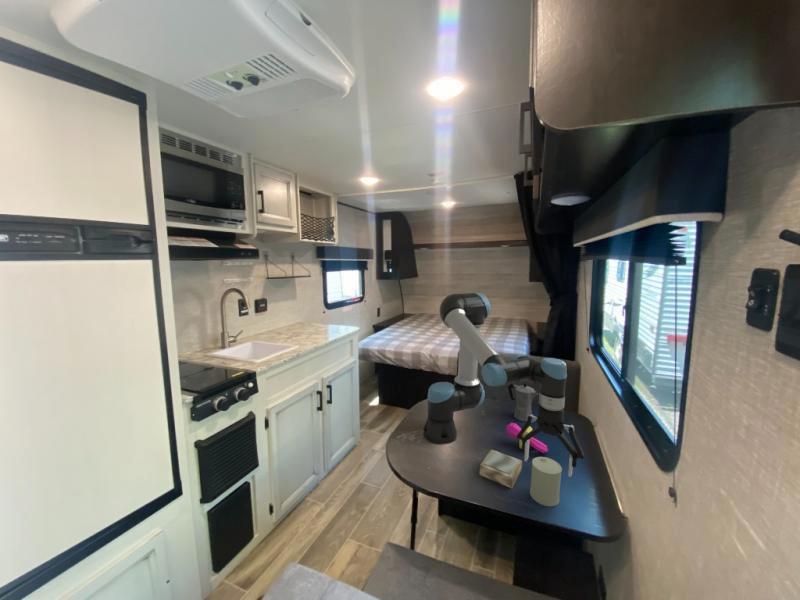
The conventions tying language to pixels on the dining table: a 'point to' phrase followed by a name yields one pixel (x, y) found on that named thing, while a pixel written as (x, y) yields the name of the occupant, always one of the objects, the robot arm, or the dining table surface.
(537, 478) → the can
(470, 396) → the robot arm
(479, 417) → the dining table surface
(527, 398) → the coffeepot
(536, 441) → the toy
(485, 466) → the pedestal
